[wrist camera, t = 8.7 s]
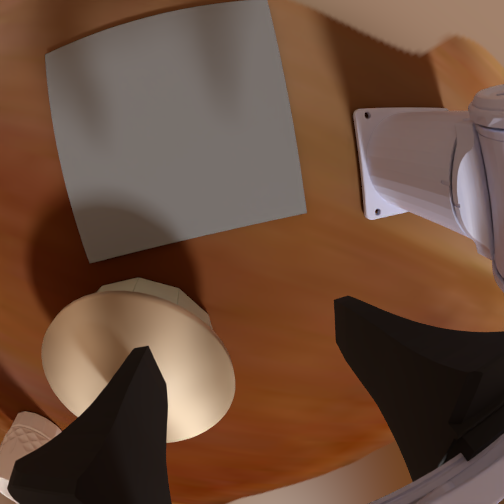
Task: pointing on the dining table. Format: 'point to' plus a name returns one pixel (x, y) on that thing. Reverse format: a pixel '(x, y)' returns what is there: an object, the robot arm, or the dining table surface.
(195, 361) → the lid
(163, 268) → the dining table surface
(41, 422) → the white cup
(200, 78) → the mat
